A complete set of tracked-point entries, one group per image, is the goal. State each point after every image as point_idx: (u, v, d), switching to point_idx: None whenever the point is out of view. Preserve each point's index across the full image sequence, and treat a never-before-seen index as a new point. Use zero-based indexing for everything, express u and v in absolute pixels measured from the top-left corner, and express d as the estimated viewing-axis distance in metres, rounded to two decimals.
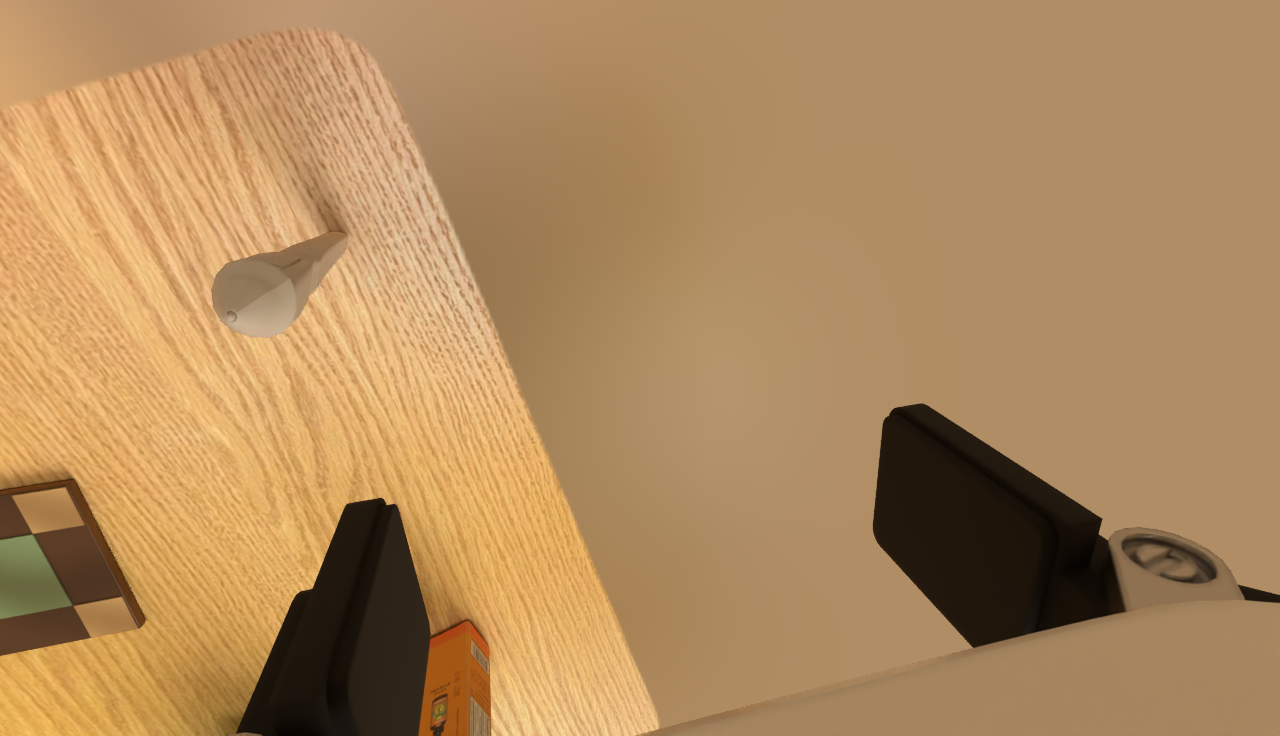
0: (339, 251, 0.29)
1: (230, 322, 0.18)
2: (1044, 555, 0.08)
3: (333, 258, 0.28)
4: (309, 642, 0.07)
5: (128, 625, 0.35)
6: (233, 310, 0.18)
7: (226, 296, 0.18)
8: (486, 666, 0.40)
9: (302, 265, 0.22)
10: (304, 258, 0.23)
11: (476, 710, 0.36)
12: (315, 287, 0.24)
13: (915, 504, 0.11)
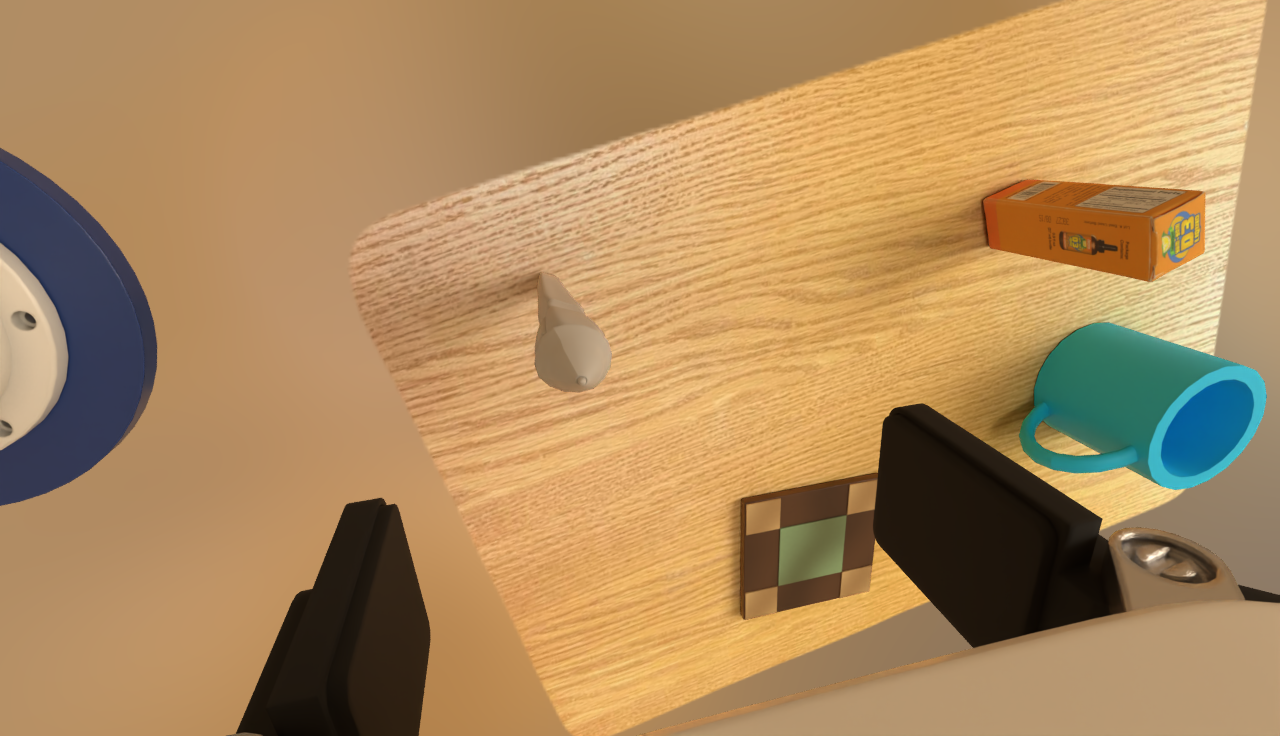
0: (553, 281, 0.29)
1: (587, 382, 0.19)
2: (1044, 555, 0.08)
3: (557, 287, 0.28)
4: (309, 642, 0.07)
5: (876, 484, 0.41)
6: (576, 378, 0.19)
7: (564, 381, 0.20)
8: (1047, 185, 0.34)
9: (547, 314, 0.22)
10: (546, 312, 0.24)
11: (1096, 201, 0.30)
12: (577, 306, 0.25)
13: (915, 504, 0.11)
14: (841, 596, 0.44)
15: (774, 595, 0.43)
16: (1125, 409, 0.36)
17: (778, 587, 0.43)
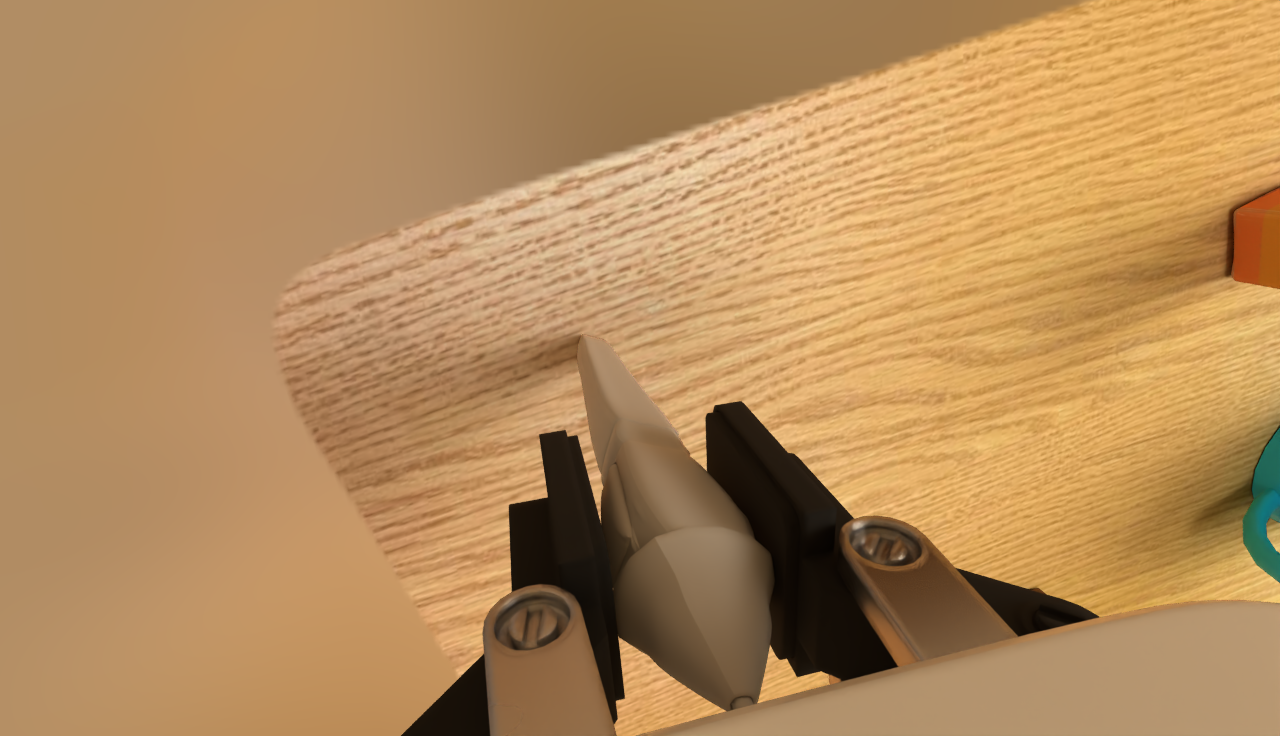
0: (606, 355, 0.18)
1: None
2: (789, 541, 0.09)
3: (617, 371, 0.17)
4: (567, 524, 0.09)
5: None
6: (729, 700, 0.08)
7: (692, 687, 0.08)
8: None
9: (627, 477, 0.11)
10: (614, 450, 0.12)
11: None
12: (667, 429, 0.13)
13: None
14: None
15: None
16: None
17: None
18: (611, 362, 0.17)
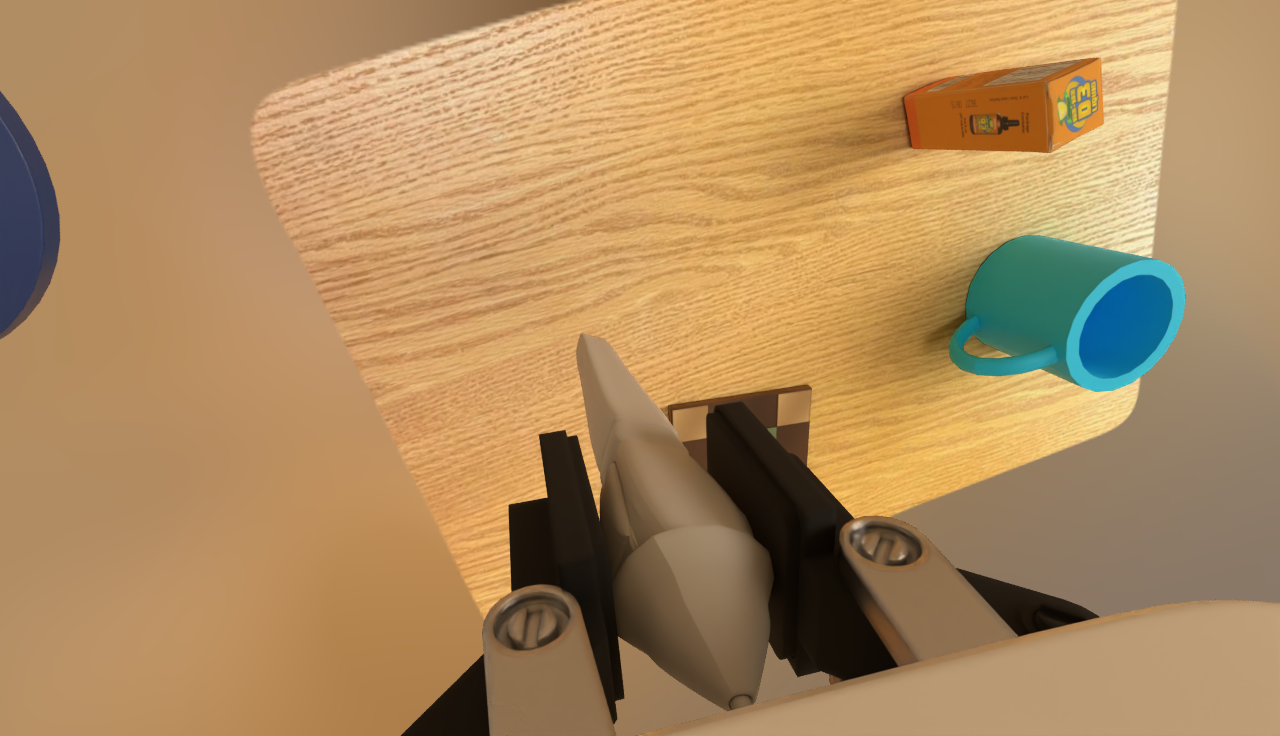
0: (605, 354, 0.18)
1: (753, 702, 0.08)
2: (790, 542, 0.09)
3: (616, 370, 0.17)
4: (567, 524, 0.09)
5: (806, 395, 0.41)
6: (727, 699, 0.08)
7: (690, 685, 0.08)
8: (964, 77, 0.34)
9: (626, 476, 0.11)
10: (613, 449, 0.12)
11: (1002, 79, 0.30)
12: (666, 427, 0.13)
13: None
14: None
15: None
16: (1045, 309, 0.36)
17: None
18: (610, 361, 0.17)
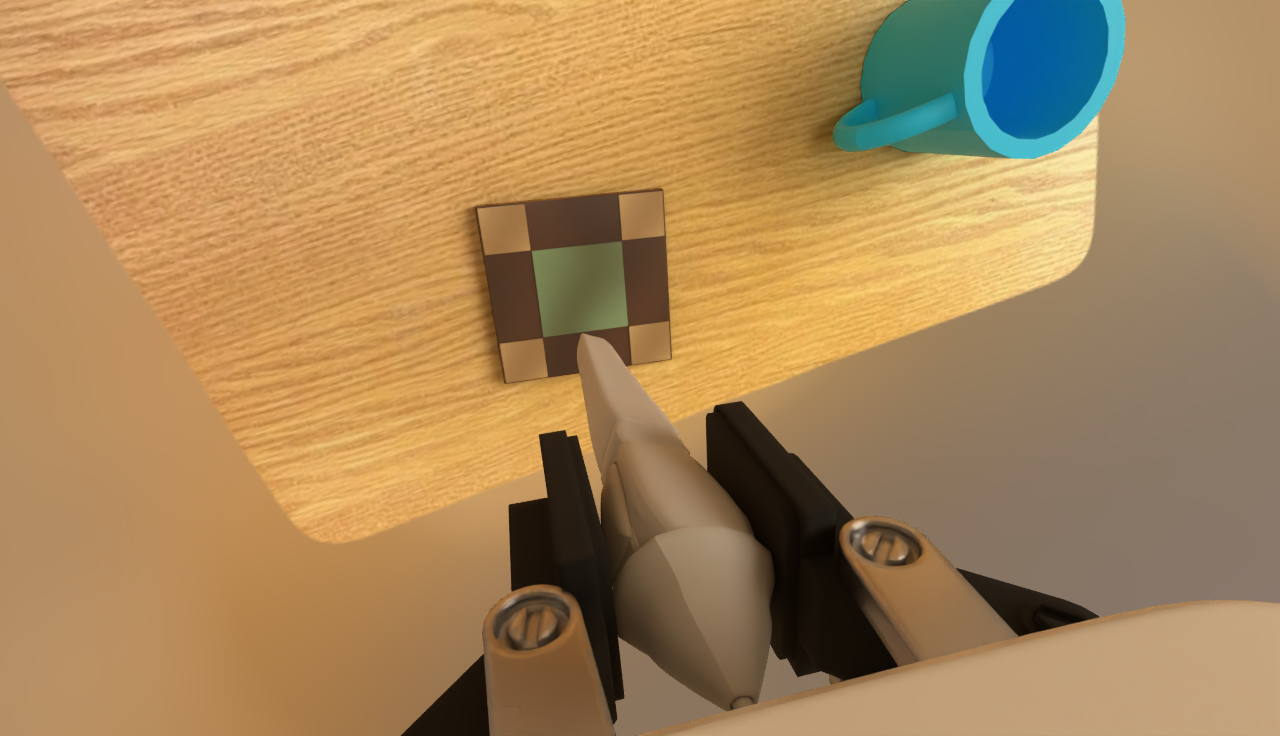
0: (606, 354, 0.18)
1: None
2: (790, 541, 0.09)
3: (616, 370, 0.17)
4: (567, 524, 0.09)
5: (656, 198, 0.33)
6: (729, 700, 0.08)
7: (691, 687, 0.08)
8: None
9: (627, 477, 0.11)
10: (614, 449, 0.12)
11: None
12: (667, 428, 0.13)
13: None
14: (633, 362, 0.36)
15: (541, 352, 0.35)
16: (940, 44, 0.27)
17: (544, 340, 0.34)
18: (611, 361, 0.17)
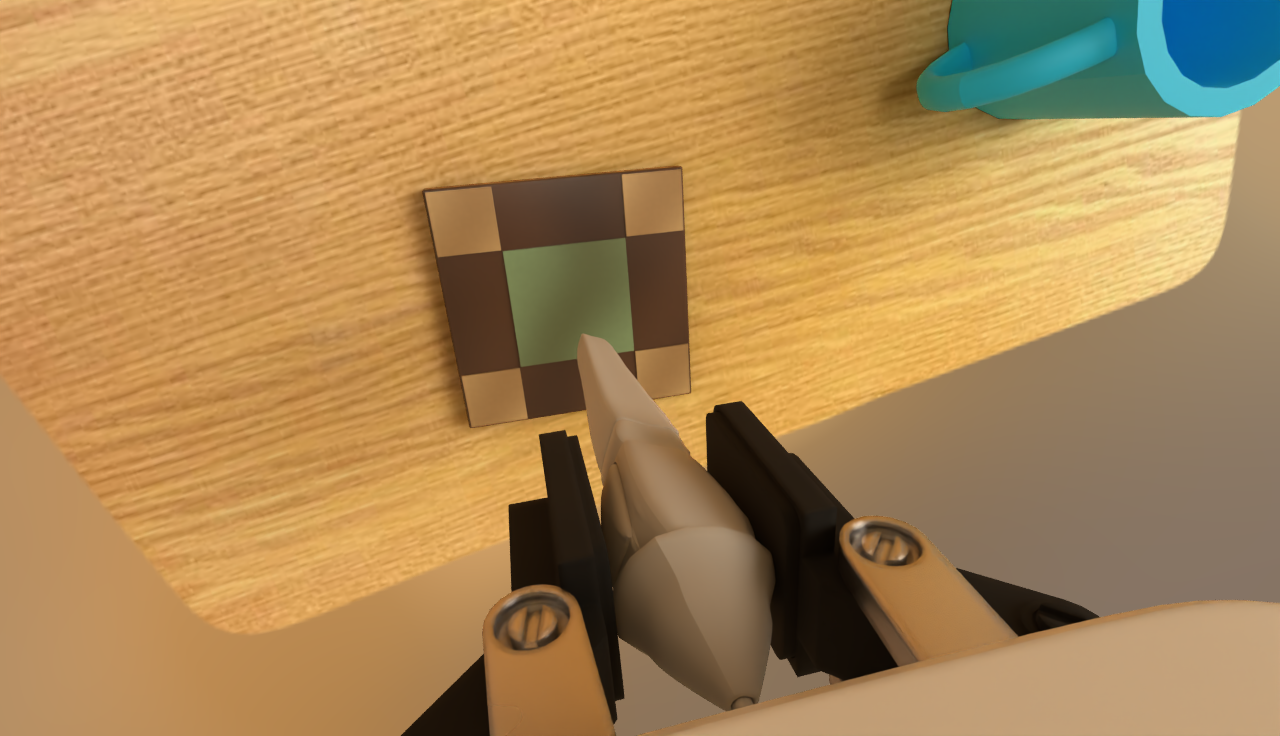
0: (606, 354, 0.18)
1: None
2: (790, 542, 0.09)
3: (617, 370, 0.17)
4: (567, 524, 0.09)
5: (672, 179, 0.24)
6: (729, 701, 0.08)
7: (692, 687, 0.08)
8: None
9: (627, 477, 0.11)
10: (614, 449, 0.12)
11: None
12: (667, 428, 0.13)
13: None
14: None
15: (517, 386, 0.26)
16: None
17: (522, 370, 0.26)
18: (611, 361, 0.17)
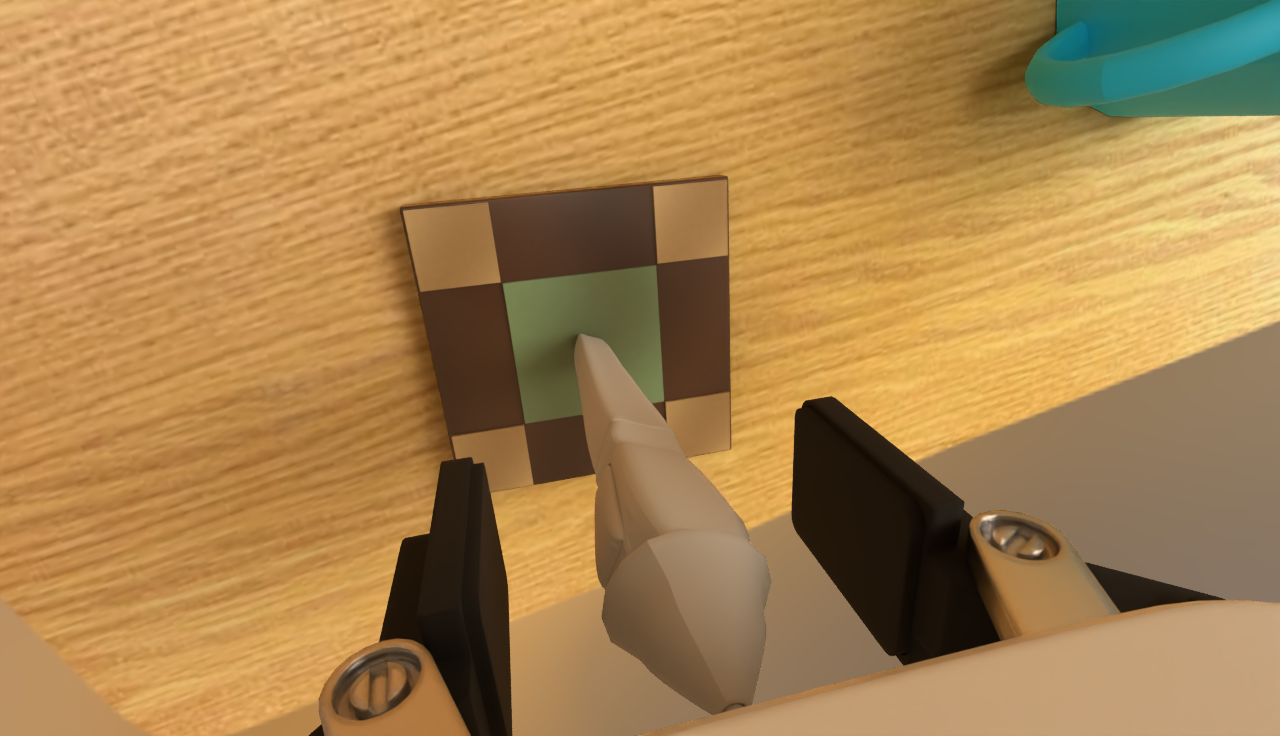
0: (603, 355, 0.18)
1: None
2: (913, 536, 0.09)
3: (613, 370, 0.17)
4: (440, 568, 0.08)
5: (716, 192, 0.19)
6: (721, 707, 0.07)
7: (683, 693, 0.08)
8: None
9: (621, 479, 0.10)
10: (609, 451, 0.12)
11: None
12: (663, 429, 0.13)
13: (821, 492, 0.11)
14: None
15: (521, 446, 0.21)
16: None
17: (527, 427, 0.21)
18: (608, 362, 0.17)
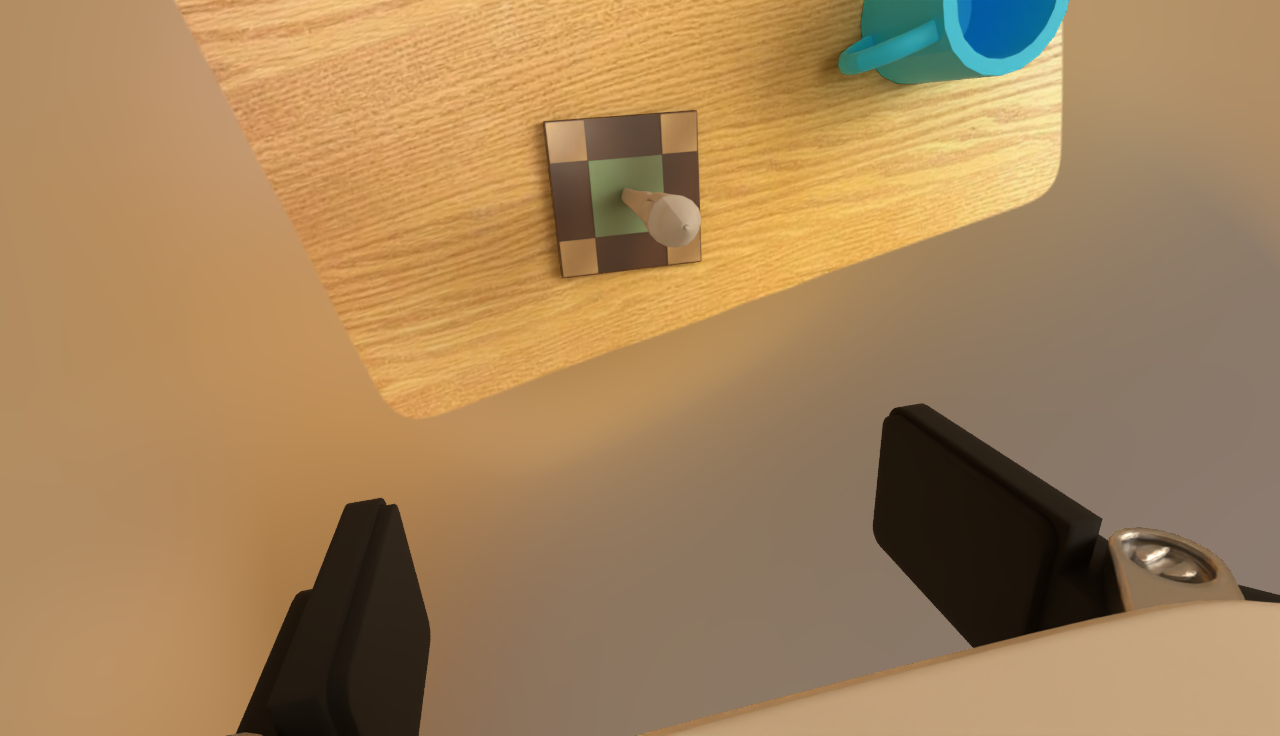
0: None
1: (689, 229, 0.28)
2: (1044, 555, 0.08)
3: None
4: (309, 642, 0.07)
5: (691, 118, 0.39)
6: (682, 225, 0.28)
7: (672, 231, 0.28)
8: None
9: (652, 195, 0.31)
10: (645, 199, 0.32)
11: None
12: None
13: (915, 504, 0.11)
14: (669, 262, 0.43)
15: (593, 251, 0.41)
16: None
17: (596, 240, 0.41)
18: None
